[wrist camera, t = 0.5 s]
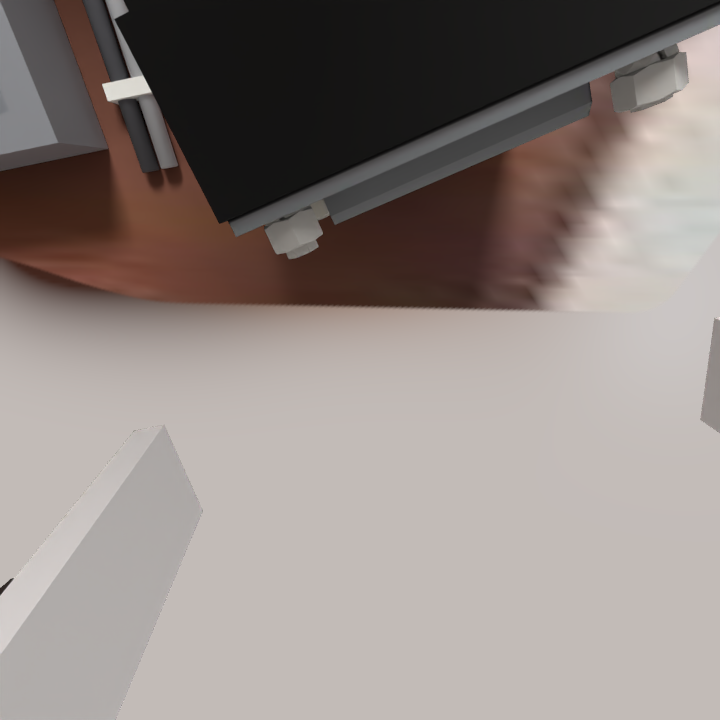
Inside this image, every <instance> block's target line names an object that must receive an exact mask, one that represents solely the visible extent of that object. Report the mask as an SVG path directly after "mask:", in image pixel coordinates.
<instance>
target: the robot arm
mask: <svg viewBox="0 0 720 720" xmlns="http://www.w3.org/2000/svg"><path fill="white" fill-rule="evenodd" d="M701 420H702V421H703V422H705V423H706V424H707V425H709V426H710V427H712V428H713V429H715V430H716V431H717V432H719V433H720V317H718V318H715V319H714V326H713V333H712V340H711V347H710V355H709V362H708V369H707V376H706V383H705V391H704V398H703V405H702V413H701ZM202 511H203V510H202V508H201V506H200V504H199V501H198V499H197V497H196V495H195V492H194V491H193V488H192V486H191V484H190V481H189V479H188V477H187V475H186V473H185V470H184V468H183V466H182V463H181V461H180V459H179V457H178V455H177V452H176V450H175V448H174V446H173V443H172V441H171V439H170V437H169V435H168V432H167V430H166V428H165V426H164V425H161V426H156V427H151V428H146V429H140V430H135V431H133V433H132V434H131V435H130V436H129V438H128V439H127V440H126V441H125V443H124V444H123V445H122V446H121V447H120V449H119V450H118V451H117V452H116V454H115V455H114V456H113V457H112V459H111V460H110V461H109V462H108V463H107V465H106V466H105V467H104V469H103V470H102V471H101V472H100V473H99V475H98V476H97V477H96V478H95V480H94V481H93V482H92V483H91V485H90V486H89V487H88V488H87V489H86V491H85V492H84V493H83V494H82V496H81V497H80V498H79V499H78V500H77V502H76V503H75V504H74V505H73V507H72V508H71V509H70V510H69V512H68V513H67V514H66V515H65V516H64V518H63V519H62V520H61V522H60V523H59V524H58V525H57V526H56V528H55V529H54V530H53V531H52V533H51V534H50V535H49V536H48V538H47V539H46V540H45V541H44V542H43V544H42V545H41V546H40V547H39V549H38V550H37V551H36V552H35V553H34V555H33V556H32V557H31V558H30V560H29V561H28V562H27V563H26V564H25V566H24V567H23V568H22V570H21V571H20V572H19V573H18V574H17V576H16V577H15V578H12V579H10V580H9V581H8V582H7V583H6V584H5V585H3V586H2V587H1V588H0V720H116V718H117V715H118V712H119V710H120V708H121V706H122V703H123V701H124V698H125V696H126V693H127V691H128V689H129V686H130V684H131V681H132V679H133V676H134V674H135V672H136V670H137V667H138V665H139V662H140V660H141V658H142V655H143V653H144V650H145V648H146V646H147V643H148V641H149V638H150V636H151V634H152V631H153V629H154V627H155V624H156V621H157V619H158V617H159V615H160V612H161V610H162V607H163V605H164V603H165V600H166V598H167V595H168V593H169V591H170V588H171V586H172V583H173V581H174V578H175V576H176V574H177V571H178V569H179V567H180V564H181V562H182V559H183V557H184V555H185V552H186V550H187V547H188V545H189V543H190V540H191V538H192V535H193V533H194V531H195V528H196V526H197V523H198V521H199V518H200V516H201V514H202Z"/></svg>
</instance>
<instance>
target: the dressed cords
mask: <svg viewBox="0 0 720 720" xmlns="http://www.w3.org/2000/svg"><path fill="white" fill-rule="evenodd" d="M105 1H106V4H107V7H108V10H109V13H110V16H111V19H112V22H113V25H114V28H115V31H116V34H117V37H118V40H119V43H120V46H121V49H122V52H123V55H124V58H125V61H126V64H127V67H128V70H129V73H130V76H131V78H129V76H128V73H127V70H126V67H125V64H124V61H123V58H122V55H121V52H120V49H119V46H118V43H117V40H116V37H115V34H114V31H113V28H112V25H111V22H110V19H109V16H108V13H107V10H106V7H105V4H104V1H103V0H83V3H84V6H85V9H86V12H87V15H88V18H89V20H90V23H91V26H92V29H93V32H94V35H95V38H96V41H97V43H98V46H99V49H100V52H101V55H102V58H103V61H104V63H105V66H106V69H107V72H108V75H109V78H110V81H111V82H110V83H105V84H102V86H103V88H104V91H105V94H106V97H107V100H108V101H109V102H112V103H115V104H118V105H119V106H120V109H121V112H122V115H123V118H124V121H125V124H126V126H127V129H128V132H129V135H130V138H131V141H132V144H133V146H134V149H135V152H136V155H137V158H138V161H139V164H140V167H141V169H142V172H143V173H145V172H153V171H157V170H160V169H159V166H158V163H157V160H156V157H155V154H154V151H153V148H152V145H151V142H150V139H149V136H148V133H147V130H146V127H145V124H144V121H143V118H142V115H141V112H140V109H139V106H138V103H137V101H139V103H140V106H141V109H142V112H143V115H144V118H145V121H146V124H147V127H148V130H149V133H150V136H151V139H152V142H153V145H154V148H155V151H156V154H157V157H158V160H159V163H160V166H161V169H166V168H172V167H177V166H178V163H177V160H176V157H175V154H174V151H173V148H172V144H171V141H170V138H169V135H168V132H167V129H166V126H165V122H164V119H163V116H162V113H161V110H160V107H159V105H158V103H157V101H156V100H155V98H154V96H153V94H152V92H151V90H150V88H149V86H148V84H147V82H146V80H145V78H144V76H143V74H142V72H141V70H140V68H139V66H138V65H137V63H136V61H135V59H134V57H133V55H132V53H131V51H130V49H129V47H128V45H127V43H126V41H125V39H124V37H123V35H122V33H121V31H120V30H119V28H118V26H117V24H116V22H115V20H114V19H115V18H117V17H119V16H121V15H123V14H125V13H127V12H129V11H128V9H127V7H126V5H125V2H124V0H105Z"/></svg>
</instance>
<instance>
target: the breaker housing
mask: <svg viewBox="0 0 720 720" xmlns="http://www.w3.org/2000/svg"><path fill="white" fill-rule="evenodd" d="M105 149H109V148H108V146H107V143H106V140H105V137H104V135H103V132H102V129H101V127H100V124H99V121H98V119H97V116H96V113H95V110H94V108H93V105H92V102H91V100H90V97H89V94H88V92H87V89H86V86H85V83H84V81H83V78H82V75H81V73H80V70H79V67H78V65H77V62H76V59H75V56H74V54H73V51H72V48H71V46H70V43H69V40H68V38H67V35H66V32H65V29H64V27H63V24H62V21H61V19H60V16H59V13H58V10H57V8H56V5H55V2H54V0H0V171H4V170H8V169H13V168H18V167H23V166H28V165H33V164H37V163H42V162H47V161H52V160H57V159H62V158H67V157H71V156H76V155H81V154H86V153H91V152H96V151H100V150H105Z"/></svg>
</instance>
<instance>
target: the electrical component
mask: <svg viewBox="0 0 720 720" xmlns="http://www.w3.org/2000/svg"><path fill="white" fill-rule="evenodd" d="M124 2H125V5H126V7H127V9H128V11H129V12H127V13H125V14H123V15H121V16H119V17H117V18H115V19H114V20H115V22H116V24H117V26H118V28H119V30H120V31H121V33H122V35H123V37H124V39H125V41H126V43H127V45H128V47H129V49H130V51H131V53H132V55H133V57H134V59H135V61H136V63H137V65H138V66H139V68H140V70H141V72H142V74H143V76H144V78H145V80H146V82H147V84H148V86H149V88H150V90H151V92H152V94H153V96H154V98H155V100H156V101H157V103H158V105H159V107H160V109H161V111H162V113H163V115H164V117H165V119H166V121H167V123H168V125H169V127H170V129H171V131H172V133H173V135H174V136H175V138H176V140H177V142H178V144H179V146H180V148H181V150H182V152H183V154H184V156H185V158H186V160H187V162H188V164H189V166H190V168H191V170H192V171H193V173H194V175H195V177H196V179H197V181H198V183H199V185H200V187H201V189H202V191H203V193H204V195H205V197H206V199H207V201H208V203H209V205H210V206H211V208H212V210H213V212H214V214H215V216H216V218H217V220H218V222H219V224H220V223H223V222H225V221H228V222H229V224H230V226H231V228H232V230H233V232H234V234H235V236H236V237H237V236H240V235H242V234H244V233H247V232H249V231H251V230H253V229H256V228H258V227H260V226H262V225H266V226H264V229H265V232H266V234H267V236H268V238H269V240H270V243H271V245H272V247H273V249H274V251H275V253H276V254H282V253H286V254H287V256H288V258H289V259H294V258H298V257H300V256H302V255H305V254H307V253H309V252H311V251H313V250H314V249H316V248H318V247H319V246H318V244H317V241H316V239H317V238H318V237H320V236H321V235H323V232H322V230H321V227H320V225H319V223H318V220H321V219H323V218H325V217H328V216H331V218H332V220H333V222H334V224H335V225H336V224H338V223H340V222H343V221H345V220H347V219H350V218H352V217H354V216H357V215H359V214H361V213H364V212H366V211H368V210H371V209H373V208H375V207H378V206H380V205H382V204H385V203H387V202H389V201H392V200H394V199H396V198H399V197H401V196H403V195H406V194H408V193H410V192H412V191H415V190H417V189H419V188H422V187H424V186H426V185H429V184H431V183H433V182H436V181H438V180H440V179H443V178H445V177H447V176H450V175H452V174H454V173H457V172H459V171H461V170H464V169H466V168H468V167H471V166H473V165H475V164H478V163H480V162H482V161H484V160H487V159H489V158H491V157H494V156H496V155H498V154H501V153H503V152H505V151H508V150H510V149H512V148H515V147H517V146H519V145H522V144H524V143H526V142H529V141H531V140H533V139H536V138H538V137H540V136H543V135H545V134H547V133H549V132H552V131H554V130H556V129H559V128H561V127H563V126H566V125H568V124H570V123H573V122H575V121H577V120H580V119H582V118H584V117H587V116H589V112H590V108H591V104H592V98H591V91H590V84H589V82H590V81H592V80H595V79H597V78H599V77H601V76H604V75H606V74H608V73H610V72H613V71H615V77H616V79H615V80H614V81H613V82H612V83H611V84H610V87H611V93H612V100H613V107H614V112H625V111H628V110H630V111H631V112H636V111H641V110H644V109H646V108H649V107H652V106H654V105H657V104H659V103H662V102H665V101H666V100H668V99H670V98H671V97H673V94H674V93H676V92H679V91H681V90H683V88H684V87H685V86H686V85H687V84H688V83H689V80H688V68H687V56H686V52H679V49H678V46H677V44H676V43H679V42H681V41H683V40H686V39H688V38H690V37H692V36H695V35H697V34H699V33H701V32H704V31H706V30H708V29H711V28H713V27H715V26H717V25H720V0H124ZM677 52H678V53H677ZM329 214H330V215H329Z"/></svg>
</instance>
